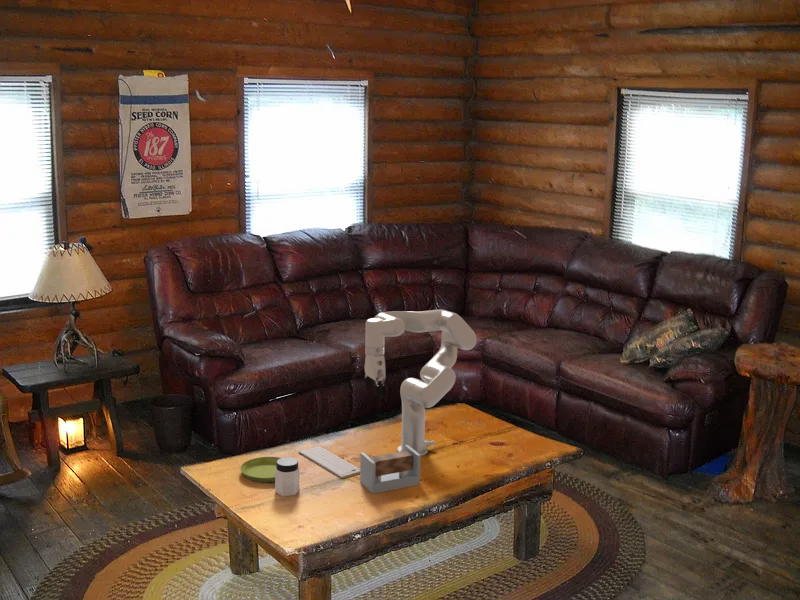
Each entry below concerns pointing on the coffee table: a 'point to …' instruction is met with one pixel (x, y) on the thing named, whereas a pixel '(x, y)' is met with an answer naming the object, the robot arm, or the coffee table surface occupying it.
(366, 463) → the peg frame
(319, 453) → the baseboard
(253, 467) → the saucer
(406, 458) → the shelf board
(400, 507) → the coffee table surface
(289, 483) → the jar
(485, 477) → the coffee table surface
